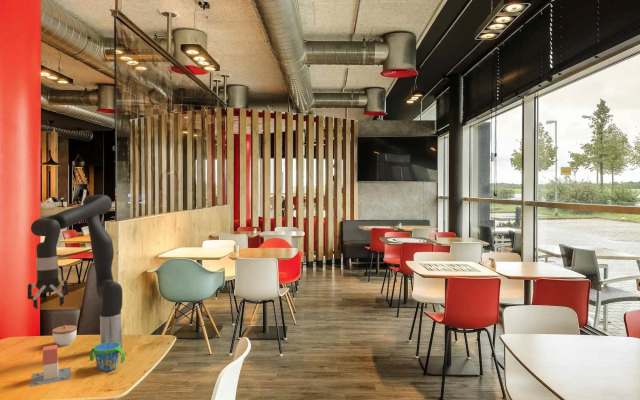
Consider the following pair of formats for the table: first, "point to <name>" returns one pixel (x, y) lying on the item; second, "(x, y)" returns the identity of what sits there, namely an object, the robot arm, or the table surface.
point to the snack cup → (107, 355)
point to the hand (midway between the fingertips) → (48, 307)
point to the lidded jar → (64, 334)
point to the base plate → (39, 379)
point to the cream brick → (50, 371)
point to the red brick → (50, 354)
